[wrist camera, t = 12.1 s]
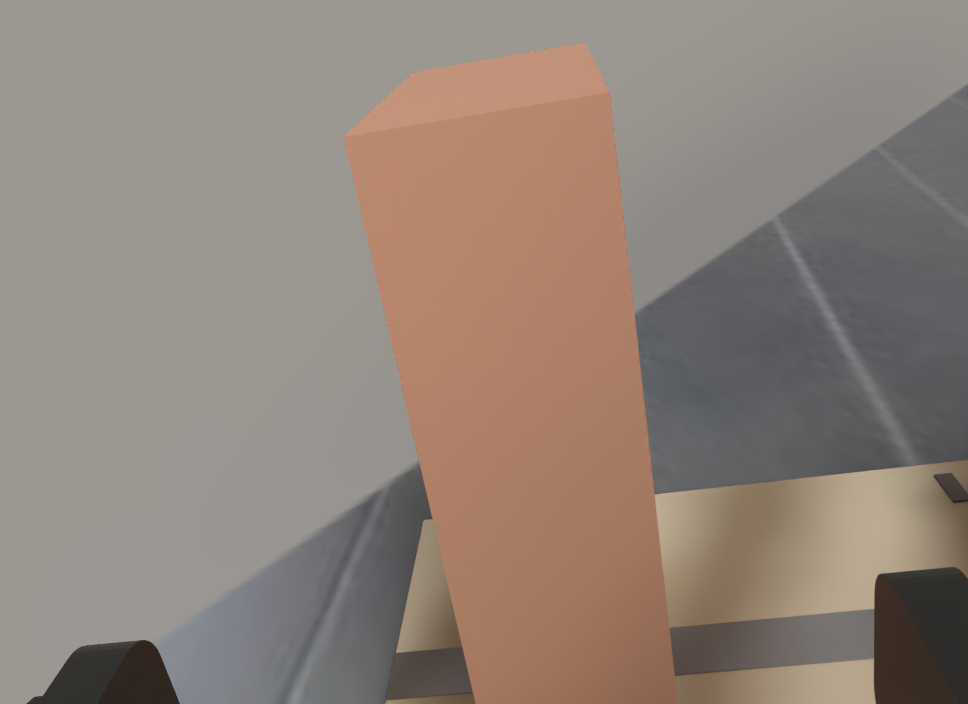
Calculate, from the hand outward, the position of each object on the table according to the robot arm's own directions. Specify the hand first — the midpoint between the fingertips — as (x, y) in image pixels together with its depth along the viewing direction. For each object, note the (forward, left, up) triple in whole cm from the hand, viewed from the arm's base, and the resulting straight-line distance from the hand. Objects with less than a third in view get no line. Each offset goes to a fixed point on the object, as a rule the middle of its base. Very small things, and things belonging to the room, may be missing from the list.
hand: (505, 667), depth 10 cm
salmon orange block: (-4, -9, -9) cm, 13 cm away
